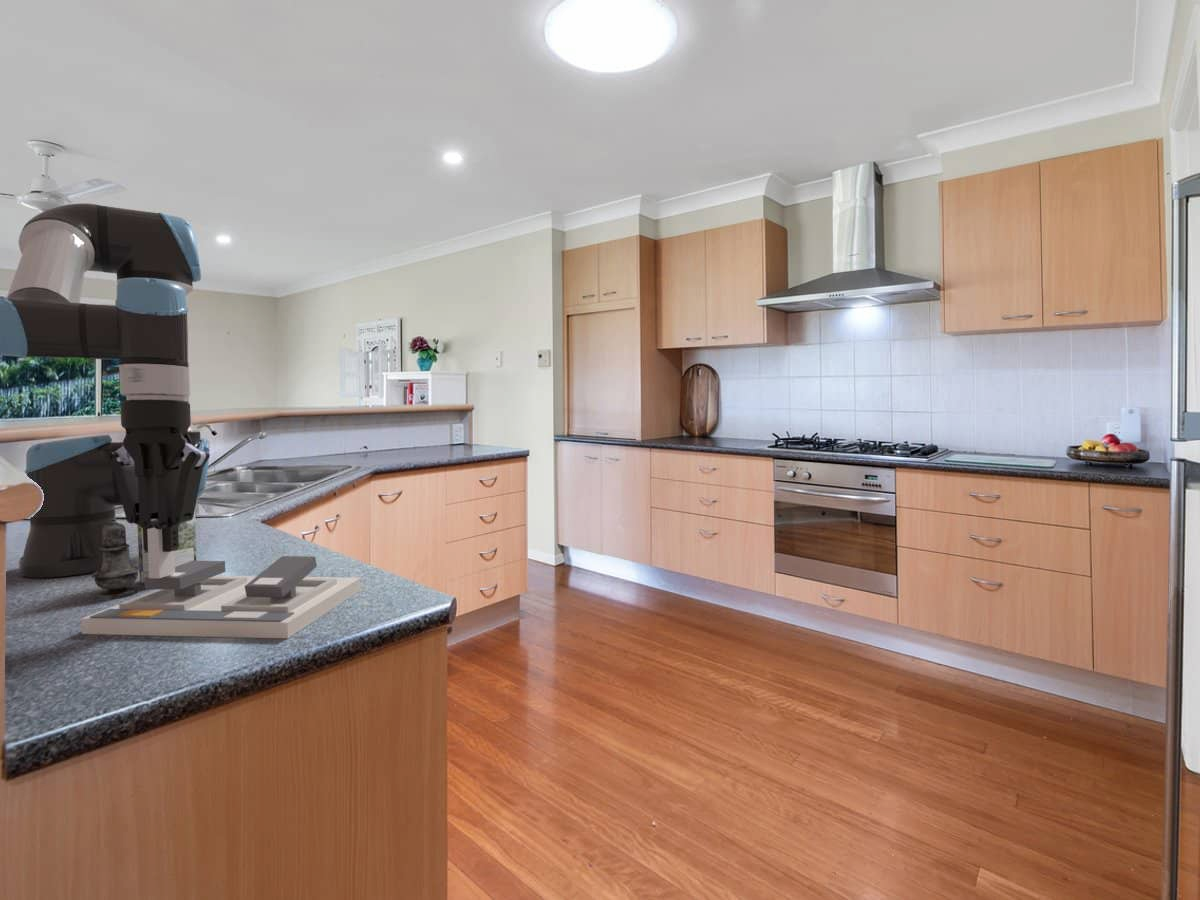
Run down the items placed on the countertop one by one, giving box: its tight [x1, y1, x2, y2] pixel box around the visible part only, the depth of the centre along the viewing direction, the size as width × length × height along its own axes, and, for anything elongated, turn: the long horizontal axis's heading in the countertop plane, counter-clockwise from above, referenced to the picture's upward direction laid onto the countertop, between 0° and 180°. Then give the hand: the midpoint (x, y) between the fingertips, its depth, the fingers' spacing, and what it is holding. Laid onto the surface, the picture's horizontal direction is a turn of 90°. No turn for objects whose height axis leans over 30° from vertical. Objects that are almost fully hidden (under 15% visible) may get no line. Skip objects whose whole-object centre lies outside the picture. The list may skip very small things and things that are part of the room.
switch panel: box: [81, 575, 362, 639], centre depth 87 cm, size 20×27×4 cm
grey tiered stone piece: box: [91, 517, 140, 601], centre depth 94 cm, size 6×6×12 cm
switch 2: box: [245, 555, 317, 598], centre depth 86 cm, size 9×5×2 cm, turn 176°
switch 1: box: [144, 560, 226, 590], centre depth 87 cm, size 9×5×2 cm, turn 176°
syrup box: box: [136, 510, 197, 584], centre depth 102 cm, size 6×6×14 cm
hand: (162, 575), depth 83 cm, fingers closed
